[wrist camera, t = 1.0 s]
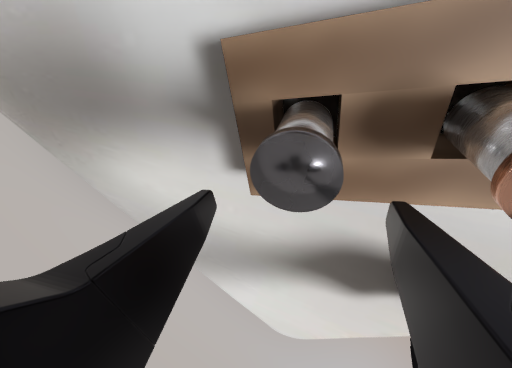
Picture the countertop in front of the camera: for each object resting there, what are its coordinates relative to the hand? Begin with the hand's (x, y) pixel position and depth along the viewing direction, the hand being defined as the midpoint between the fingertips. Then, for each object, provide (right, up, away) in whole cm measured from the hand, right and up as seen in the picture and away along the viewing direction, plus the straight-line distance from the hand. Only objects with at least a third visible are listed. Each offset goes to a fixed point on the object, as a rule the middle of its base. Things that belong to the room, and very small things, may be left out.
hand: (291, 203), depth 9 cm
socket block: (+8, +7, +8) cm, 13 cm away
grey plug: (+2, +5, +7) cm, 9 cm away
